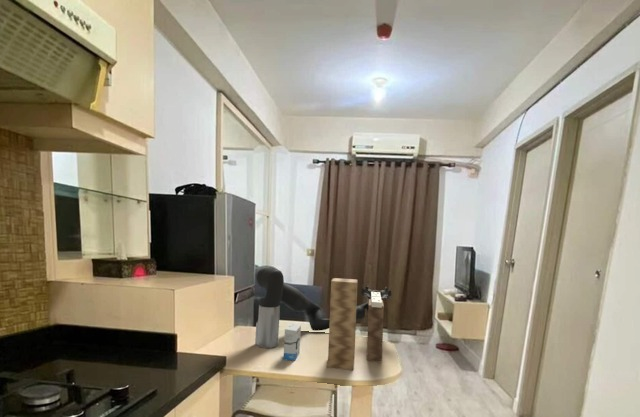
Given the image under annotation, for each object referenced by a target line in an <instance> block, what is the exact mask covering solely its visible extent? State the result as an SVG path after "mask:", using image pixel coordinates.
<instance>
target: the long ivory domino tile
mask: <svg viewBox="0 0 640 417" xmlns="http://www.w3.org/2000/svg"><path fill="white" fill-rule="evenodd" d="M371 304H372V307H379V308H382V300H381V295H380V292H371Z"/></svg>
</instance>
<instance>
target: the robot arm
mask: <svg viewBox="0 0 640 417" xmlns="http://www.w3.org/2000/svg"><path fill="white" fill-rule="evenodd" d="M256 283H257V285H258V286H259V287H260V289H261V288H262V289H263V290H265V291H266V294H265V296H263V297H262V296H261V297H260V298H259V301H258V319H257V321H256V324H255V338H254V341H255V342H254V345H256V346H258V347H259V348H263V349H271V348H272V349H273V348H275V347H277V346H279V334H280V333H279V330H280V314H281V312H280V309H281V302H282V303H283V304H284V305H285V306H286V307H287V308H289V309H290V310H291V311H293V312H296V313H300V312H303V313H304V314H305V315H306V316H307V319H308V323H309V326H310V329H311V330H312V331H314V332H315V331H317V332H319V331H326V330H329V324H330V318H327V316H326V312H325V311H324V308H322V307H321V306H319V305H317V304H316V303H314V302H313V301H311V299H309V298H308V297H307V296H306V295H305V294H303V293H302V291H300V290H299V289H298V288H296V287H294V286H292V285H290V284H288V283H286V282H284V274H283V272H282V271H281V270H280V269H274V268H271V267H270V268H269V267H264V268H261V269H260V270H258V272H257V273H256ZM371 292H380V295H381V300H384V299H387V301H390V300H391V298H392V290H389V288H388V287H387V286H385V288H384V289H382V290H377V289H371V288H369V285H367V286H365V287H364V288H362V287H361V291H360V295H361V298H365V297H367V301H366V302H365V303H362V304H360V305H357V307H356V321H358V320H363V319H364V318H365V317H366V313H368V310H369V299H371ZM365 311H366V312H365Z"/></svg>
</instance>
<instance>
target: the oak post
mask: <svg viewBox="0 0 640 417" xmlns="http://www.w3.org/2000/svg"><path fill="white" fill-rule="evenodd" d="M330 281H331V282H330V283H331V285H330V302H329V319H330V324H329V329H328V347H327V348H328V350H327V351H328V353H327V361H326V368H330V369H331V368H332V369H342V370H350V371H353V370H354V367H355V355H356V354H355V353H356V352H355V350H356V328H357V320H356V307H357V306H358V305H357V304H358V303H357V302H358V279H353V278H341V277H340V278H339V277H338V278H337V277H332V279H331V280H330Z"/></svg>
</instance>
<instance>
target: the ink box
mask: <svg viewBox="0 0 640 417" xmlns="http://www.w3.org/2000/svg"><path fill="white" fill-rule="evenodd" d="M301 328H302V325H301V324H295V323H289V324H288V325H287V326H286V327H285V329H284V340H283V360H286V361H296V359H297V358H298V356H299V355H300V351H301V349H300V347H301V334H302V333H301V330H302V329H301Z"/></svg>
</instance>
